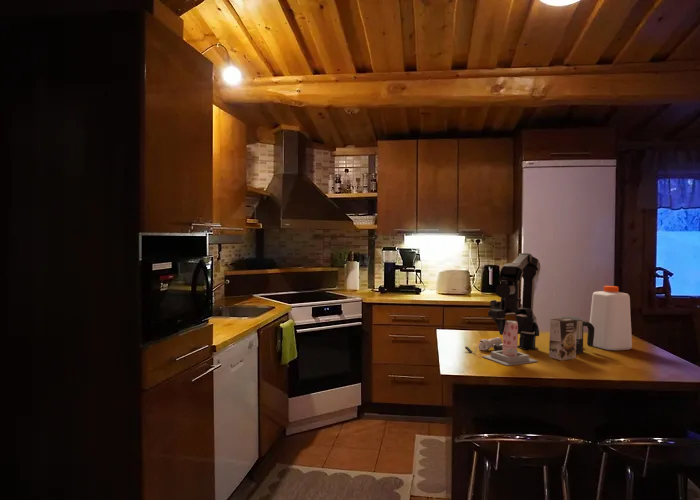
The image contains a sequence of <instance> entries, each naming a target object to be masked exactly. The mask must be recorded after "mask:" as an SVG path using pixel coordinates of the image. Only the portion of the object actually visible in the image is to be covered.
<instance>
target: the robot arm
mask: <svg viewBox="0 0 700 500" xmlns="http://www.w3.org/2000/svg"><path fill="white" fill-rule="evenodd" d="M540 270H541V262H540V261H539V259H538V258H536V256H533V254H532V253H529V252H527V253H526V252H521V253H518V255H517V257H516V258H515V259H514V260H513V261H512V262H510V263H509V262H508V263H505V264H503V265H502V267H501V269H500V271H499V272H500V273H499V277H498V282H500V283H499V284H497V286H496V287H495V293H496V295H497V296H498V297H499V298H500V300H499V301H497V300H495V299H493V300H490V301H489V307H490V309H489V310H488V314H487V316H488V317H490V319H491V320H494V322H495V324H496V326H497V329H498V333H499V335H501V336H503V332H504V327H505V322H506V320H507V319H506V316H514V318H516V321H517V322H518V335H519V337H518V339H519V345H517V348H520V349H523V350H527V351H531V350H538V349H539V347H538V346H536V338H537V337H540V328H539V324H538V323H537V317H536V316H535V313H534V296H535V295H534V294H535V280H536V279H537V277H538V276H539V274H540V273H539V272H540ZM522 279H523V280H522ZM521 280H522V281H523V282H522V283H523V285H522V286H523V287H522V299H521V298H520V297H519V293H520V292H519V288H520V281H521ZM519 302H522V303H521V304H522V306H521V307H519Z"/></svg>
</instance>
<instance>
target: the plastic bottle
mask: <svg viewBox="0 0 700 500" xmlns="http://www.w3.org/2000/svg"><path fill="white" fill-rule="evenodd" d="M619 290H620V288H619V286H616V285H604V286H603V290H599V291H594V292H593V293H592V297H591V307H590V313H589V314H590V315H589V323H591V324H592V325H593V326H594V341H593V346H592V347H594V348H598V349H602V350H605V351H611V352H612V351H613V352H615V351H617V352H618V351H628V350H631V349H632V347H633V339H632V338H633V336H632V321H631V320H632V319H631V297H630V295H629V293H625V292H621V291H619Z"/></svg>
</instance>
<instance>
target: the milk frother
mask: <svg viewBox="0 0 700 500" xmlns="http://www.w3.org/2000/svg"><path fill="white" fill-rule="evenodd" d="M560 318H567V319H574V320H577V333H576V355H577V354H583V352H584V351H583V349H584V327H587V341H586V345H587V346H588V347H591V348H592V347H594V346H593V341H594V326H593V325H592V324H591V323H590V321H587V320H584V318H583V317H577V316H560Z"/></svg>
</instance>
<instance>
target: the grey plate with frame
mask: <svg viewBox="0 0 700 500" xmlns="http://www.w3.org/2000/svg"><path fill="white" fill-rule="evenodd" d="M502 352H503V350H501V351H494V350H493V351H490V354H488V355H482V356H481V357H482V358H484V359H487V360H489V361H491V362H494V363H498V364H499V365H503V366H506V367H509V366H517V365H518V366H519V365H524V364H525V365H526V364H532V363H538V362H539V361H538V360H537V359H534V358H530V355H529V354H526V353H523V352H520V351H517V356H511V357H509V356H506V355H503V354H502Z"/></svg>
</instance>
